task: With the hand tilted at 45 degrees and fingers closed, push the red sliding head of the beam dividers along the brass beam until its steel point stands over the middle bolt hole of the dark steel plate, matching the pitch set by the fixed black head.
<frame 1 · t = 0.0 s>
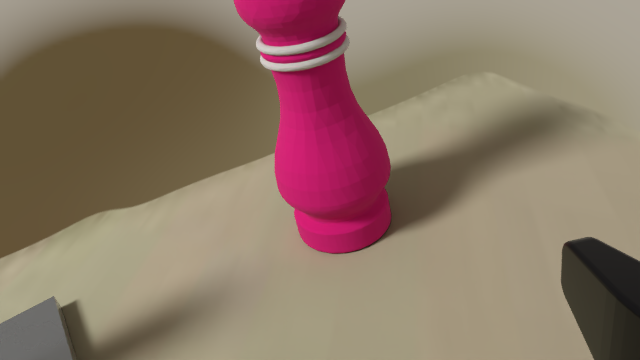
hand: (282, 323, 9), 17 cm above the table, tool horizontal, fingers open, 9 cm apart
pepper mill: (345, 225, 38), on the table
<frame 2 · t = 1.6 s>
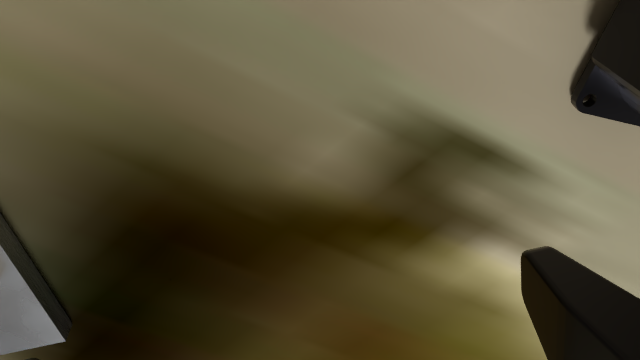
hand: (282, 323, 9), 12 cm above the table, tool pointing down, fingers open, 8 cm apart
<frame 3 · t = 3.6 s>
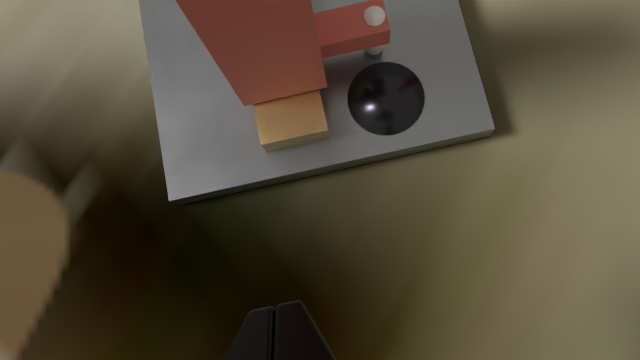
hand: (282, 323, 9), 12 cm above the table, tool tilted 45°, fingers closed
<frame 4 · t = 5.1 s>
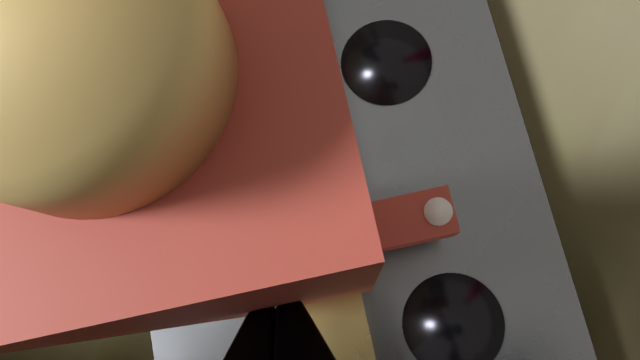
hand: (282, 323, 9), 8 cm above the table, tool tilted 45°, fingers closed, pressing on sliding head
bolt plate: (333, 57, 19), on the table
sliding head: (335, 199, 9), point 8 cm above the table, slide at 0.9 cm, touching gripper
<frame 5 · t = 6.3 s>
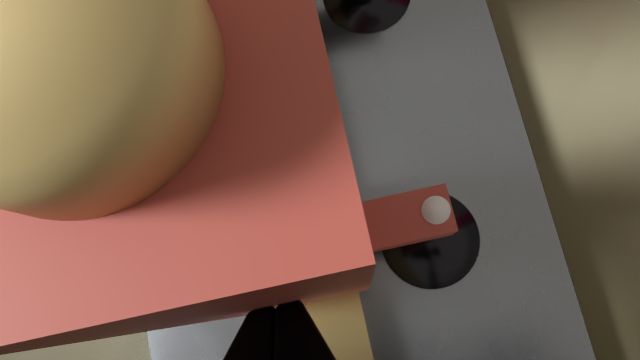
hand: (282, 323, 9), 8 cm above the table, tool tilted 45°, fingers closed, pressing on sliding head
bolt plate: (370, 221, 17), on the table
sliding head: (331, 198, 9), point 8 cm above the table, slide at 6.5 cm, touching gripper
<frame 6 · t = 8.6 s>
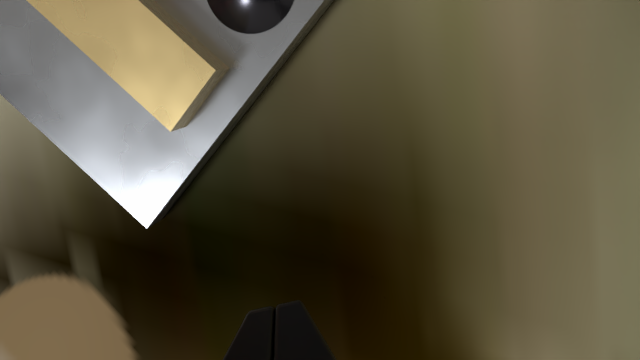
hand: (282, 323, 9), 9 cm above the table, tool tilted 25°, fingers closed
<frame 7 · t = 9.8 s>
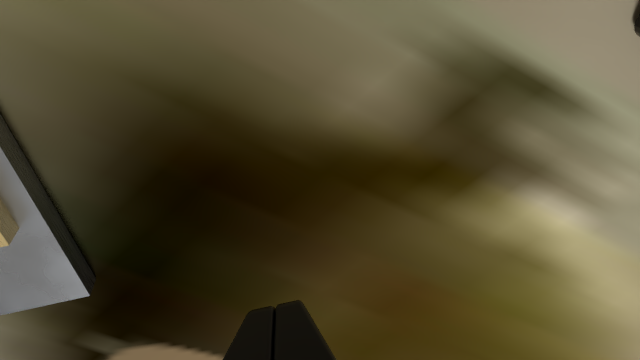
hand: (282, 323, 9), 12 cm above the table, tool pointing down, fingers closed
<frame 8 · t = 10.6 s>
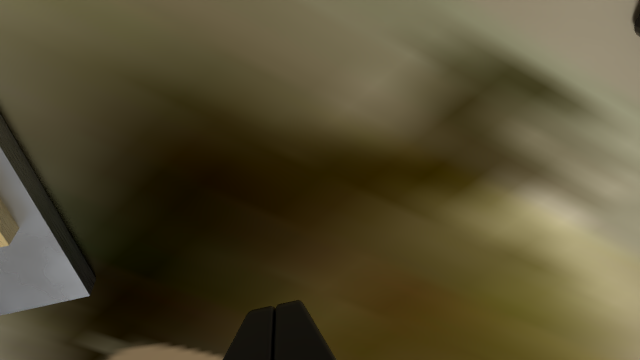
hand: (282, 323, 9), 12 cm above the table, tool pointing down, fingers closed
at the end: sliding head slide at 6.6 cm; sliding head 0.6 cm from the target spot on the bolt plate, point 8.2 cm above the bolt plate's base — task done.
